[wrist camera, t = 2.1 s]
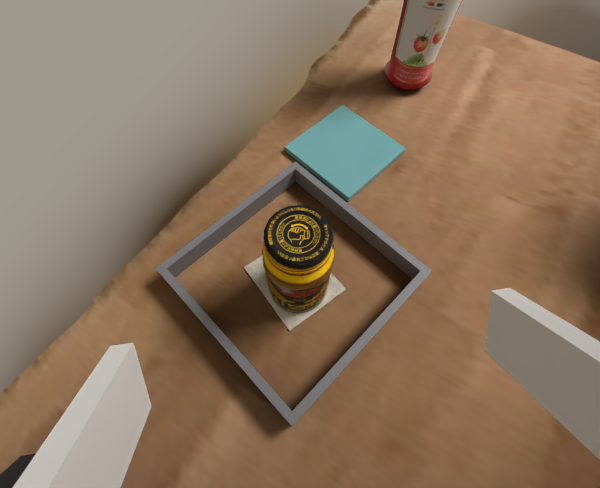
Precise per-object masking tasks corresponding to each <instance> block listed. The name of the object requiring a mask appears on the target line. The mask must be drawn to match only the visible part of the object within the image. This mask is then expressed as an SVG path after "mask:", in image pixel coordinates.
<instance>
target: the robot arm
mask: <svg viewBox="0 0 600 488" xmlns="http://www.w3.org/2000/svg"><path fill="white" fill-rule="evenodd" d="M485 352H486V353H487V354H488V355H489V356H490V357H491V358H492V359H493V360H494V361H495V362H496V363H497V364H498V365H499V366H500V367H501V368H503V369H504V370H505V371H506V372H507V373H508V374H509V375H510V376H511V377H512V378H513V379H514V380H515V381H516V382H517V383H518V384H520V385H521V386H522V387H523V388H524V389H525V390H526V391H527V392H528V393H529V394H530V395H531V396H532V397H533V398H534V399H535V400H537V401H538V402H539V403H540V404H541V405H542V406H543V407H544V408H545V409H546V410H547V411H548V412H549V413H550V414H551V415H552V416H554V417H555V418H556V419H557V420H558V421H559V422H560V423H561V424H562V425H563V426H564V427H565V428H566V429H567V430H568V431H569V432H571V433H572V434H573V435H574V436H575V437H576V438H577V439H578V440H579V441H580V442H581V443H582V444H583V445H584V446H585V447H586V448H587V449H589V450H590V451H591V452H592V453H593V454H594V455H595V456H596V457H597V458H598V459H599V460H600V341H598V340H596V339H595V338H593V337H591V336H590V335H588V334H586V333H585V332H583V331H581V330H580V329H578V328H576V327H575V326H573V325H571V324H569V323H568V322H566V321H564V320H563V319H561V318H559V317H558V316H556V315H554V314H553V313H551V312H549V311H548V310H546V309H544V308H543V307H541V306H539V305H538V304H536V303H534V302H533V301H531V300H529V299H528V298H526V297H524V296H523V295H521V294H519V293H518V292H516V291H514V290H513V289H511V288H506V289H499V290H492V291H491V297H490V308H489V318H488V328H487V339H486V349H485ZM151 407H152V406H151V403H150V399H149V396H148V392H147V389H146V385H145V381H144V378H143V374H142V371H141V367H140V364H139V360H138V357H137V353H136V350H135V346H134V343H127V344H121V345H114V346H110V347H109V349H108V350H107V351H106V353H105V354H104V356H103V357H102V359H101V360H100V362H99V363H98V365H97V366H96V367H95V369H94V370H93V372H92V373H91V375H90V376H89V378H88V379H87V380H86V382H85V383H84V385H83V386H82V388H81V389H80V391H79V392H78V394H77V395H76V396H75V398H74V399H73V401H72V402H71V404H70V405H69V407H68V408H67V409H66V411H65V412H64V414H63V415H62V417H61V418H60V420H59V421H58V423H57V424H56V425H55V427H54V428H53V430H52V431H51V433H50V434H49V436H48V437H47V439H46V440H45V441H44V443H43V444H42V446H41V447H40V449H39V450H38V452H37V453H36V454H31V455H25V456H21V457H20V458H18V459H17V460H16V461H15V462H14V463H13V464H12V465H11V466H10V467H8V468H7V469H6V470H5V471H4V472H3V473H2V474H1V475H0V488H121V485H122V482H123V480H124V477H125V475H126V472H127V469H128V467H129V464H130V461H131V459H132V456H133V454H134V451H135V448H136V446H137V443H138V441H139V438H140V435H141V433H142V430H143V428H144V425H145V422H146V420H147V417H148V414H149V412H150V409H151Z"/></svg>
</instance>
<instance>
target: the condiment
mask: <svg viewBox="0 0 600 488" xmlns="http://www.w3.org/2000/svg"><path fill="white" fill-rule="evenodd" d="M262 255H263V256H261V257H259V258H258V259H257V260H255V261H254V262H252V263H250V264H248V265H247V266H245V267H244V268H245V270H246V271H247V272H248V274H249V275H250V277H251V278H252V279H253V281H254V282H255V284H256V285H257V286H258V288H259V289H260V291H261V292H262V293H263V295H264V296H265V298H266V299H267V300H268V302H269V303H270V305H271V306H272V307H273V309H274V310H275V312H276V313H277V314H278V316H279V317H280V318H281V320H282V321H283V323H284V324H285V325H286V327H287V328H288V329H289V331H290V330H292V329H293V328H294V327H296V326H297V325H298V324H300V323H301V322H302V321H304V320H305V319H307V318H308V317H309V316H311V315H312V314H314V313H315V312H316V311H318V310H319V309H320V308H322V307H323V306H324V305H326V304H327V303H328V302H330V301H331V300H332V299H334V298H335V297H336V296H338V295H339V294H340V293H342V292H343V291H344V290H346V289H345V288H344V287H343V285H342V284H341V283H340V282H339V281H338V280H337V278H336V277H335V276H334V275H333V273H332V272H331V270H332V266H333V262H334V244H333V231H332V227H331V225H330V223H329V221H328V219H327V218H326V217H325V216H324V215H323V214H322V213H321V212H320V211H318V210H317V209H315V208H313V207H310V206H300V205H297V206H288V207H285V208H283V209H281V210H280V211H278V212H276V213H275V214H274V215H273V216H272V217H271V218H270V219H269V221H268V223H267V225H266V228H265V230H264V243H263V249H262Z"/></svg>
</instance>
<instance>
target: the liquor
mask: <svg viewBox="0 0 600 488" xmlns="http://www.w3.org/2000/svg"><path fill="white" fill-rule="evenodd" d="M461 2H462V0H404V3H403V8H402V12H401V17H400V21H399V26H398V30H397V34H396V39H395V43H394V47H393V51H392V55H391V59H390V61H389V62H388V63H387V64H386V66H385V74H386V76H387V78H388V79H389V80H390V81H391V82H392V84H393V85H394V86H396V87H397V88H400V89H403V90H412V89H416V88H419V87H422V86H425V85H426V84H428V83H429V82H430V80H431V78H432V71H431V70H432V67H433V65H434V63H435V60H436V58H437V56H438V53H439V51H440V49H441V46H442V44H443V42H444V39H445V37H446V35H447V33H448V30H449V28H450V26H451V24H452V21H453V19H454V17H455V15H456V12H457V10H458V8H459V6H460V4H461Z"/></svg>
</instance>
